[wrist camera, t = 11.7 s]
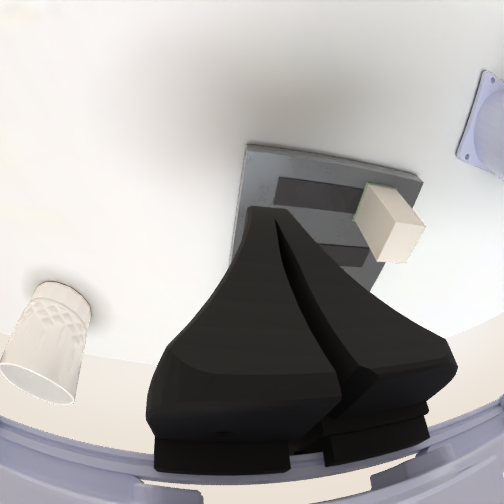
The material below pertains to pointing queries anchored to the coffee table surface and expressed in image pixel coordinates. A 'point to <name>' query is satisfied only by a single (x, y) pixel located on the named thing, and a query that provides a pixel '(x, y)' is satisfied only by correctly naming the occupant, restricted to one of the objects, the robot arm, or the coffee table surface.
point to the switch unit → (319, 200)
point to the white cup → (48, 344)
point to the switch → (388, 224)
